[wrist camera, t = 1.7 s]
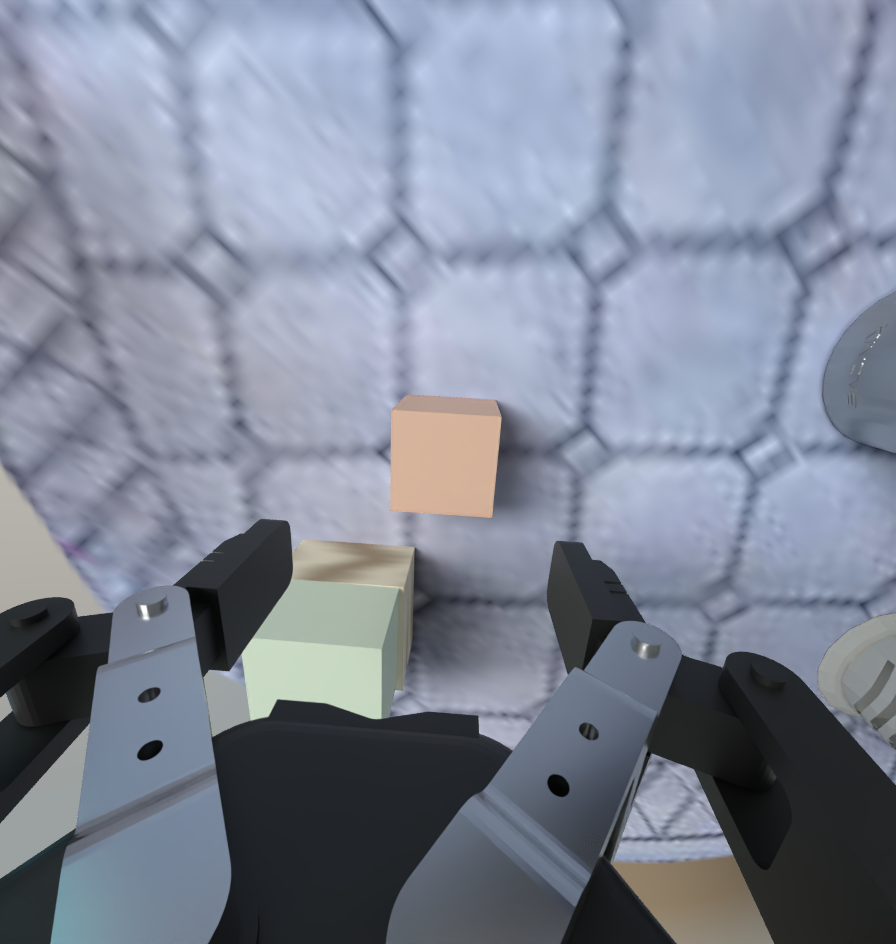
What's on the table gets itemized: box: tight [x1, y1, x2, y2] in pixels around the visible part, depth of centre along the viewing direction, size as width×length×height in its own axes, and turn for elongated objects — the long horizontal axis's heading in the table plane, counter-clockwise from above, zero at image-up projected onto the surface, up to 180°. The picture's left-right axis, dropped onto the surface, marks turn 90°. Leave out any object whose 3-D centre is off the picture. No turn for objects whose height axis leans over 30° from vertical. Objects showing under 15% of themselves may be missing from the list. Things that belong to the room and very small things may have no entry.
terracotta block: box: [390, 394, 502, 518], centre depth 24 cm, size 6×6×6 cm
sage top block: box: [242, 579, 399, 720], centre depth 23 cm, size 7×7×5 cm
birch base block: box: [292, 539, 415, 691], centre depth 28 cm, size 8×8×5 cm
